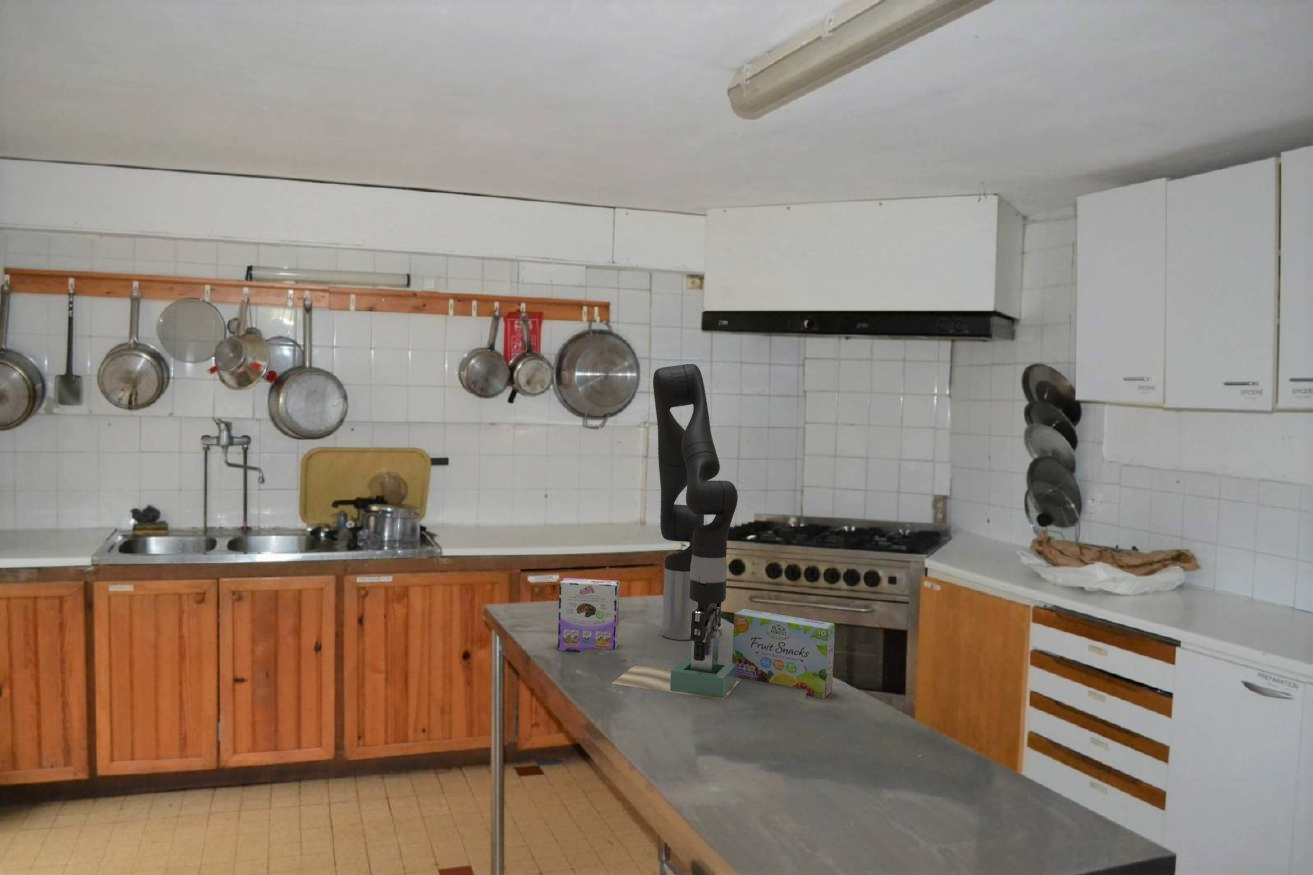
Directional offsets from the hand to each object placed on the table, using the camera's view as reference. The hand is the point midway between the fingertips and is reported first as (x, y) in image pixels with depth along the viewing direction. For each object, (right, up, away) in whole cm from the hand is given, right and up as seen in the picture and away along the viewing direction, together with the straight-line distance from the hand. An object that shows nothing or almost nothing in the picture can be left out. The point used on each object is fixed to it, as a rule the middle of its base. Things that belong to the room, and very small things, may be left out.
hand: (705, 654), depth 199 cm
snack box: (+16, -9, +6) cm, 20 cm away
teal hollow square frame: (0, -7, 0) cm, 7 cm away
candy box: (-26, -6, +29) cm, 40 cm away
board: (-6, -7, +3) cm, 10 cm away
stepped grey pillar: (0, -7, +1) cm, 7 cm away
